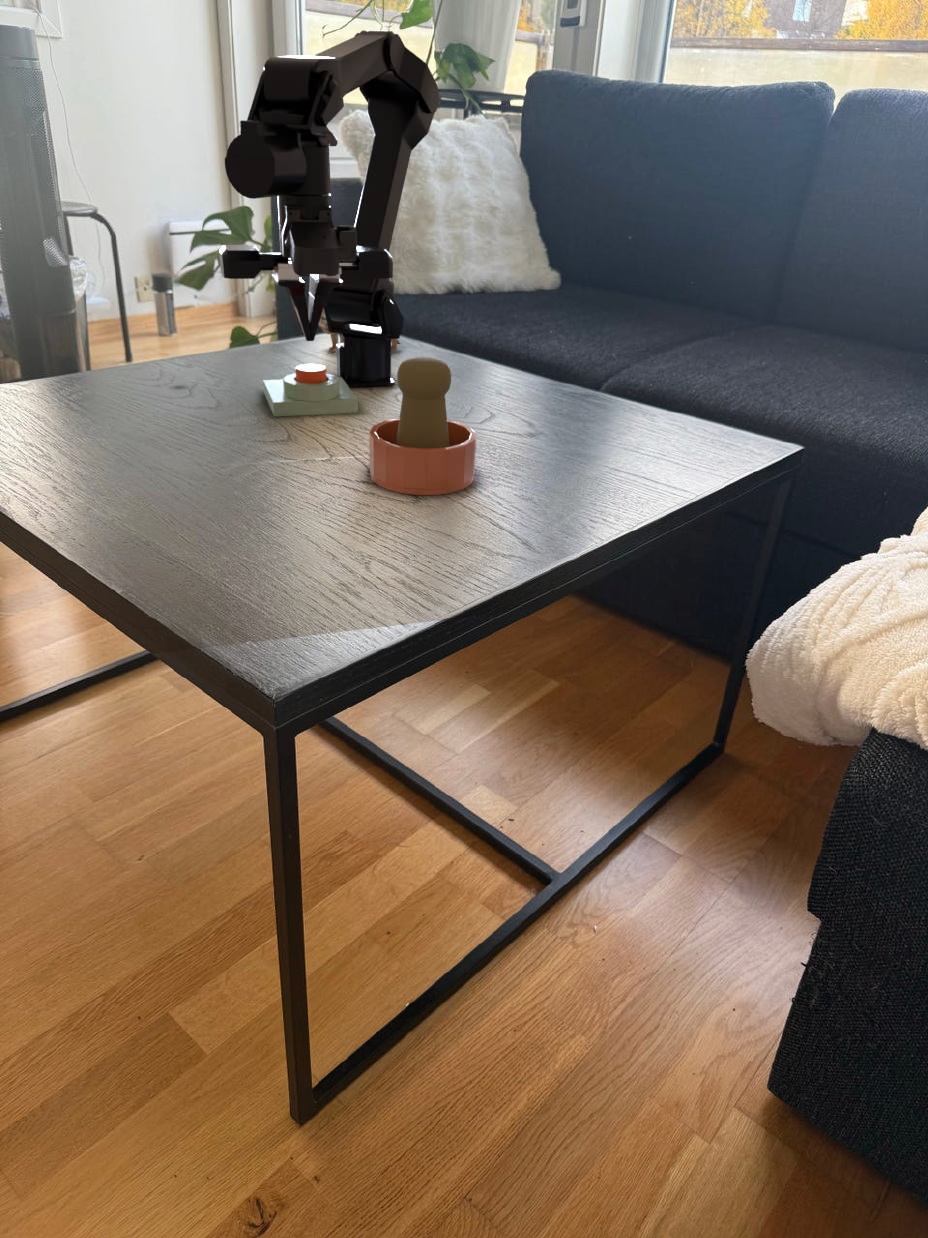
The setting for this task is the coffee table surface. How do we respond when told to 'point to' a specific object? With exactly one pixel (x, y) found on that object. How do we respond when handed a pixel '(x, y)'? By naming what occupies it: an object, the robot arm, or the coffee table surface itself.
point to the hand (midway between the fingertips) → (309, 340)
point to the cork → (423, 403)
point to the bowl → (422, 461)
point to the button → (311, 373)
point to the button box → (309, 396)
